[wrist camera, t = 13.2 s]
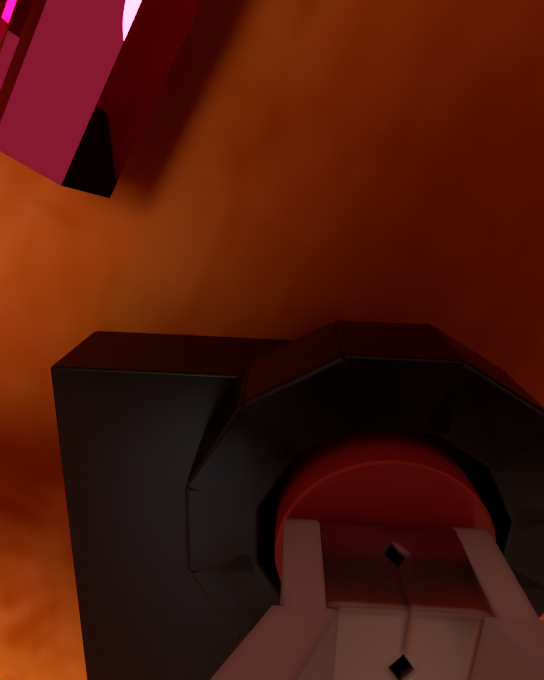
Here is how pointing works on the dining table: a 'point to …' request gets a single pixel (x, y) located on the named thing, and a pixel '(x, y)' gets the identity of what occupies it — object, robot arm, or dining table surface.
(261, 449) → the button box
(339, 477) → the red button
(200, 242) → the dining table surface
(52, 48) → the crystal
